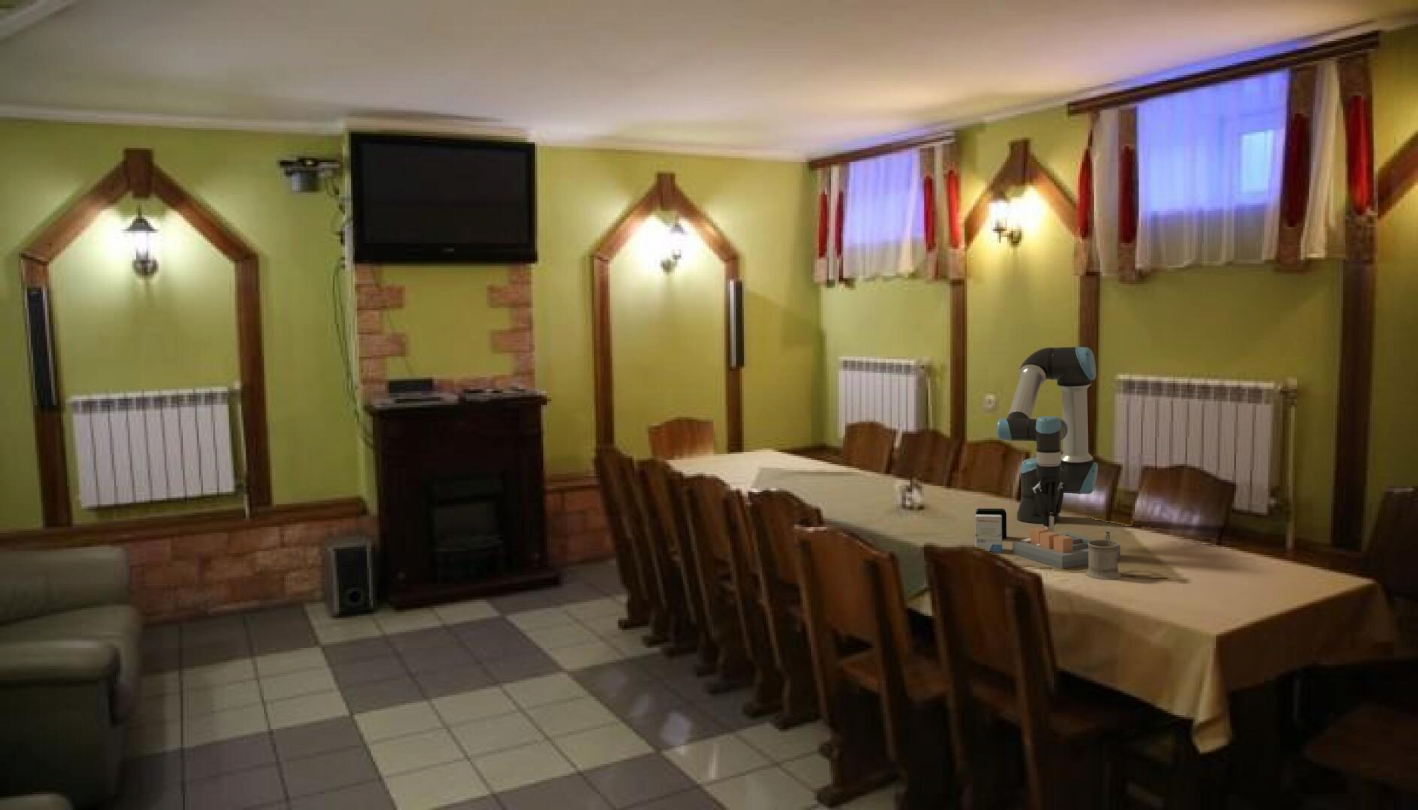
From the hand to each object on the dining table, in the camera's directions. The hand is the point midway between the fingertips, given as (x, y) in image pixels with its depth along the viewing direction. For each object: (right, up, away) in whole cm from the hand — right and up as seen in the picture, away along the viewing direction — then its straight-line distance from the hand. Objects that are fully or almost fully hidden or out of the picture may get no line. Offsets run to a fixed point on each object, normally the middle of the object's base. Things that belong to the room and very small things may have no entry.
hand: (1049, 535), depth 322 cm
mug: (+8, -8, -26) cm, 28 cm away
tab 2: (-3, -4, -8) cm, 9 cm away
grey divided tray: (+4, -6, -5) cm, 8 cm away
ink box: (-18, -6, +7) cm, 20 cm away
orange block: (0, -5, -13) cm, 14 cm away
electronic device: (-12, -4, +23) cm, 27 cm away
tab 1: (-4, -4, -2) cm, 5 cm away
